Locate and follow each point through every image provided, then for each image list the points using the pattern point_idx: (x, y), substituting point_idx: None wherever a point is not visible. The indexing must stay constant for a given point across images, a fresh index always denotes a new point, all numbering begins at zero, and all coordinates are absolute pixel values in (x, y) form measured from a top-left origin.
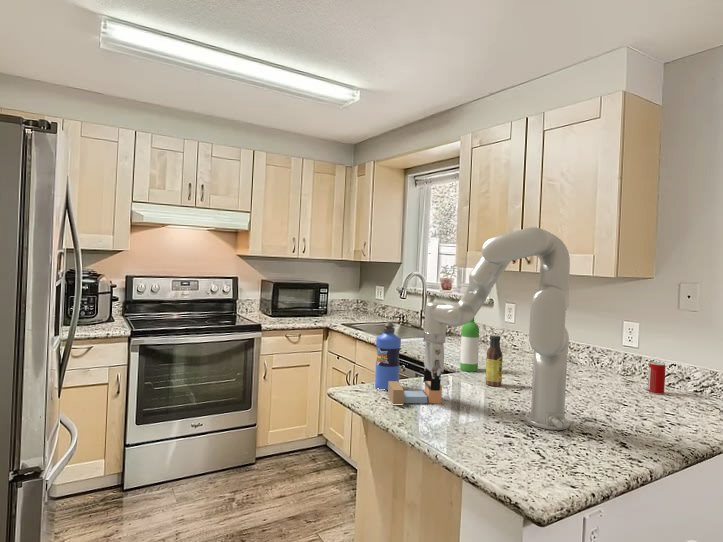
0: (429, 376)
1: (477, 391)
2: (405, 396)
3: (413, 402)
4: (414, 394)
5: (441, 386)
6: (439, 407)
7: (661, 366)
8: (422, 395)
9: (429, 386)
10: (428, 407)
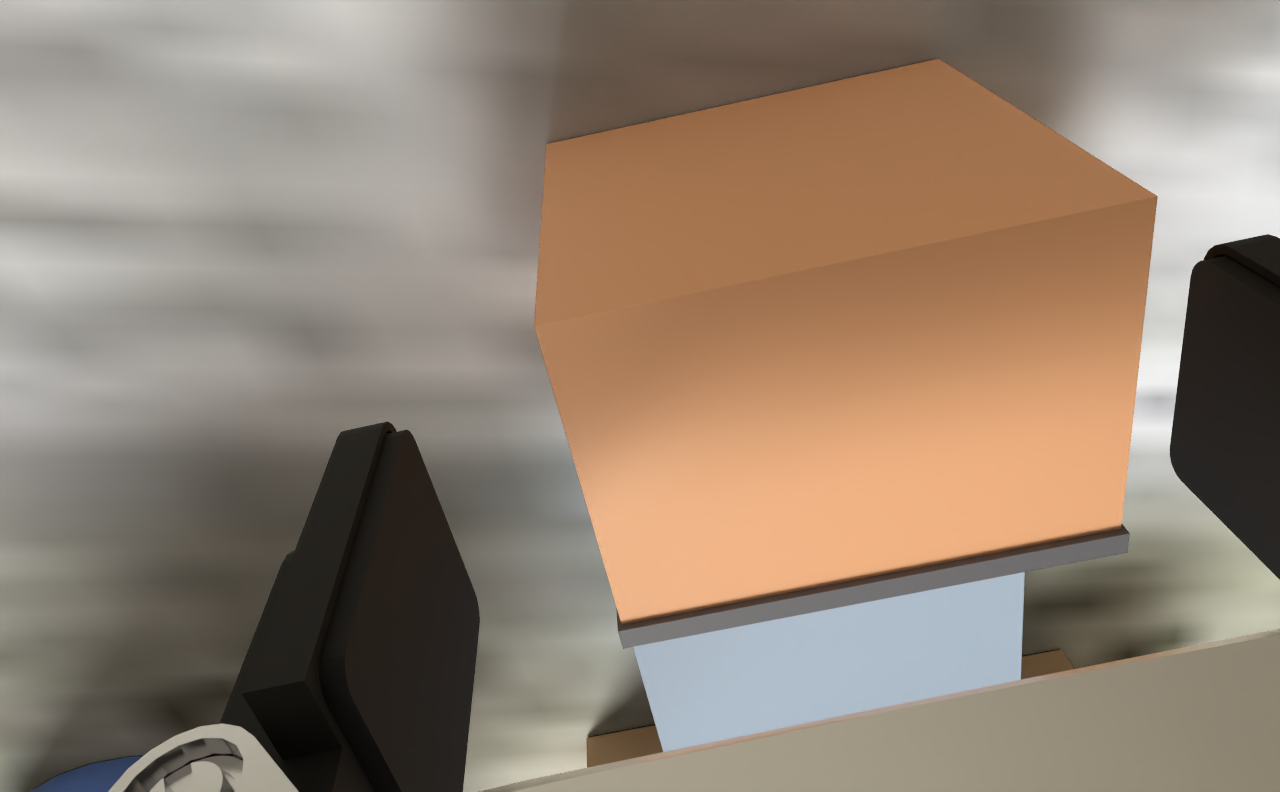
0: (416, 628)
1: None
2: None
3: None
4: (879, 621)
5: (1145, 199)
6: (1208, 111)
7: None
8: None
9: (1119, 528)
10: (1182, 319)
